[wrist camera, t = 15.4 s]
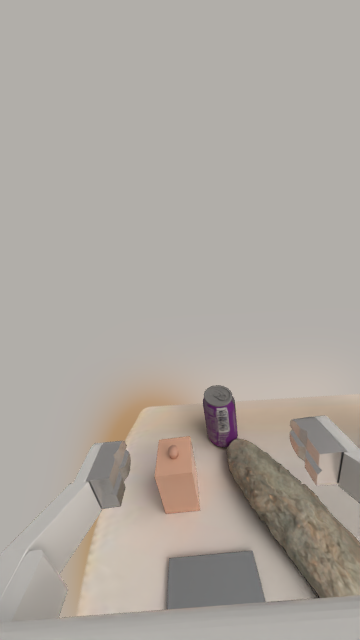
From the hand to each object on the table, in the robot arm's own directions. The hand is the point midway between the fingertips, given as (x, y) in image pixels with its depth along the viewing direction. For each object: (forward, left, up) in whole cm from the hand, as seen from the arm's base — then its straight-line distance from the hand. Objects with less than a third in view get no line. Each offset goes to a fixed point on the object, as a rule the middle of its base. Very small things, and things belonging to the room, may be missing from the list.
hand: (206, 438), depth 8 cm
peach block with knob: (+6, -15, -32) cm, 36 cm away
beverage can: (-4, -25, -32) cm, 41 cm away
